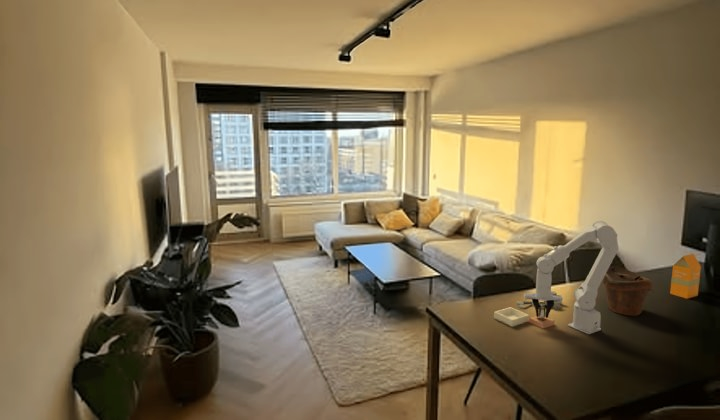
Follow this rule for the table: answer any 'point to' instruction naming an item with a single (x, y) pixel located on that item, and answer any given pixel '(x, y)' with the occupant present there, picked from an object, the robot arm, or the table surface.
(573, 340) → the table surface
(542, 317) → the pin
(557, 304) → the pulley system
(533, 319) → the block
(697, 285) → the orange juice
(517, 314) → the tray
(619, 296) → the terracotta flower pot
